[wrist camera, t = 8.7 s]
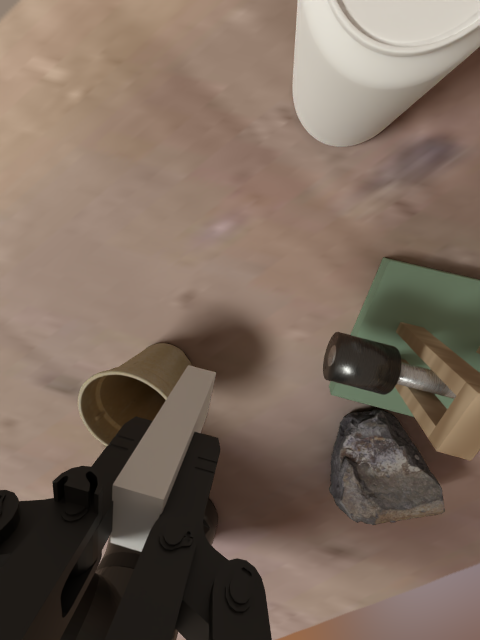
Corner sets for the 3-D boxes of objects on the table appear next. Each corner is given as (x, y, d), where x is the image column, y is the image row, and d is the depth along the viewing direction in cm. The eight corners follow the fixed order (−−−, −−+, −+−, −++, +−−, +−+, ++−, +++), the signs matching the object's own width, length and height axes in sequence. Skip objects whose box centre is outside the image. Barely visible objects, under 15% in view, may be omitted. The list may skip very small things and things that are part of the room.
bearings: (379, 363, 25) (436, 451, 16) (400, 321, 23) (478, 393, 14) (477, 388, 24) (596, 495, 15) (506, 347, 22) (660, 440, 13)
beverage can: (382, 158, 20) (501, 91, 9) (279, 137, 21) (274, 49, 10) (434, 16, 17) (716, -356, 6) (311, -5, 17) (358, -382, 6)
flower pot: (195, 324, 28) (161, 367, 20) (215, 396, 31) (191, 458, 23) (119, 333, 30) (60, 376, 22) (144, 400, 33) (100, 458, 25)
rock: (441, 478, 31) (471, 529, 26) (352, 506, 35) (364, 554, 30) (378, 392, 28) (399, 430, 23) (289, 433, 32) (290, 473, 27)
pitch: (329, 386, 28) (331, 394, 27) (383, 257, 23) (389, 260, 21) (541, 442, 27) (555, 454, 25) (655, 320, 21) (680, 327, 20)
